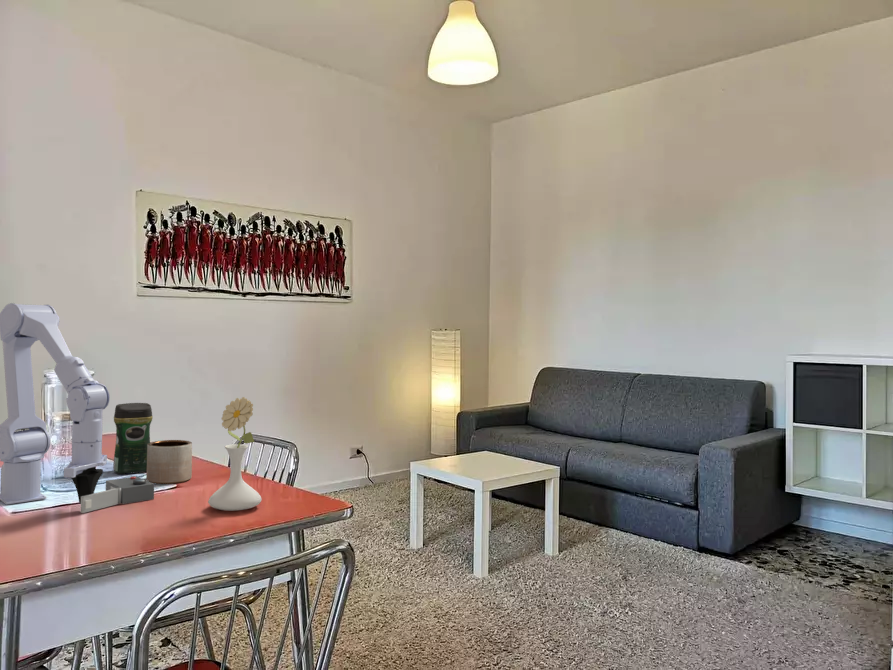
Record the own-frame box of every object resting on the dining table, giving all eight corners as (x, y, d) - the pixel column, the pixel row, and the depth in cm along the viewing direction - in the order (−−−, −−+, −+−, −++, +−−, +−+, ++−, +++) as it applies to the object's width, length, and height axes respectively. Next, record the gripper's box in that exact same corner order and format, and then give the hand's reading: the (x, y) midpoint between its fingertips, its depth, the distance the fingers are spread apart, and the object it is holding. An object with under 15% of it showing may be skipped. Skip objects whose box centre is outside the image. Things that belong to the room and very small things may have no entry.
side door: (84, 513, 145) (84, 497, 145) (80, 512, 146) (80, 496, 146) (122, 503, 154) (123, 488, 154) (118, 502, 154) (119, 487, 154)
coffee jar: (148, 467, 193) (150, 400, 193) (154, 472, 186) (155, 403, 186) (110, 470, 188) (112, 402, 188) (114, 475, 181) (116, 405, 181)
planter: (192, 483, 175) (193, 445, 175) (145, 486, 171) (146, 447, 171) (191, 474, 185) (191, 439, 185) (147, 476, 181) (147, 440, 181)
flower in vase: (200, 506, 154) (202, 394, 153) (248, 499, 161) (251, 392, 161) (223, 519, 144) (225, 400, 143) (273, 511, 151) (276, 397, 151)
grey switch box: (105, 495, 161) (105, 477, 161) (136, 491, 166) (136, 473, 166) (122, 504, 154) (122, 485, 154) (153, 499, 159) (154, 480, 159)
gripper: (89, 447, 141) (87, 513, 141) (121, 435, 155) (119, 495, 155) (54, 446, 141) (52, 512, 141) (89, 434, 155) (87, 494, 155)
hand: (85, 503), depth 148 cm, fingers closed, pressing on side door
